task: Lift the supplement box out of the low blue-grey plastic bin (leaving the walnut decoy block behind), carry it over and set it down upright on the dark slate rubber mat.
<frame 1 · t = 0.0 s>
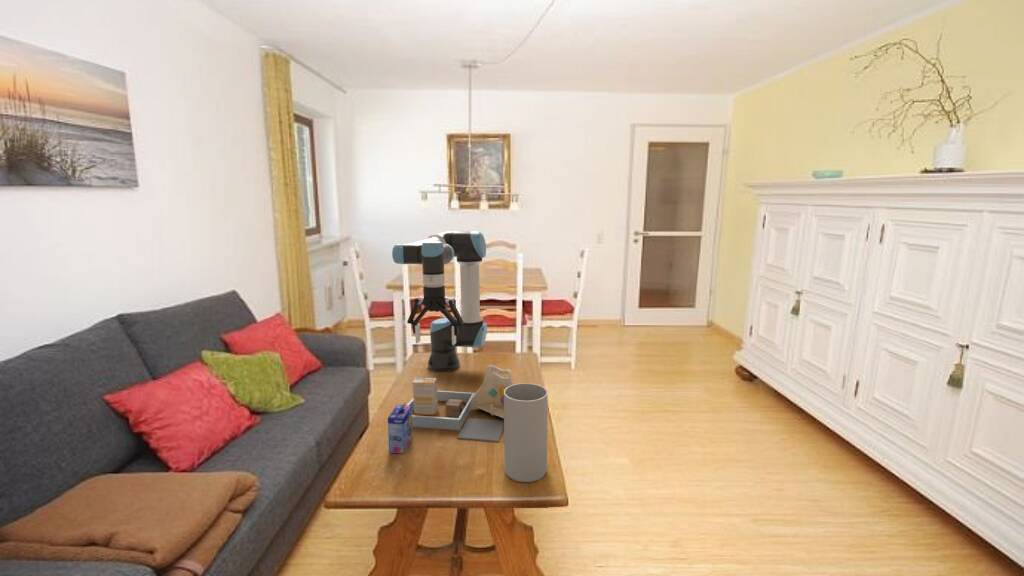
hand: (436, 343, 167), 28 cm above the table, fingers open, 13 cm apart
shape sorter: (500, 414, 173), on the table, touching mat
bin: (438, 413, 174), on the table
ink cartridge box: (401, 446, 152), on the table
supplement box: (426, 413, 175), resting in bin
decoy block: (454, 414, 173), resting in bin
mat: (482, 430, 161), on the table
cylinder vase: (525, 471, 137), on the table
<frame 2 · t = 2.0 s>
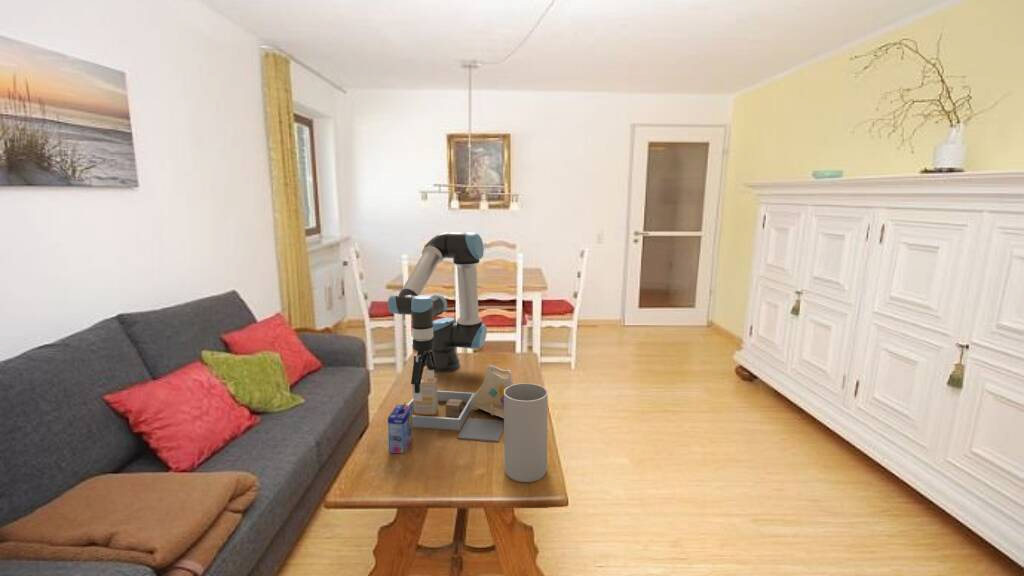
hand: (424, 393, 173), 8 cm above the table, fingers open, 13 cm apart
nothing on the table moved.
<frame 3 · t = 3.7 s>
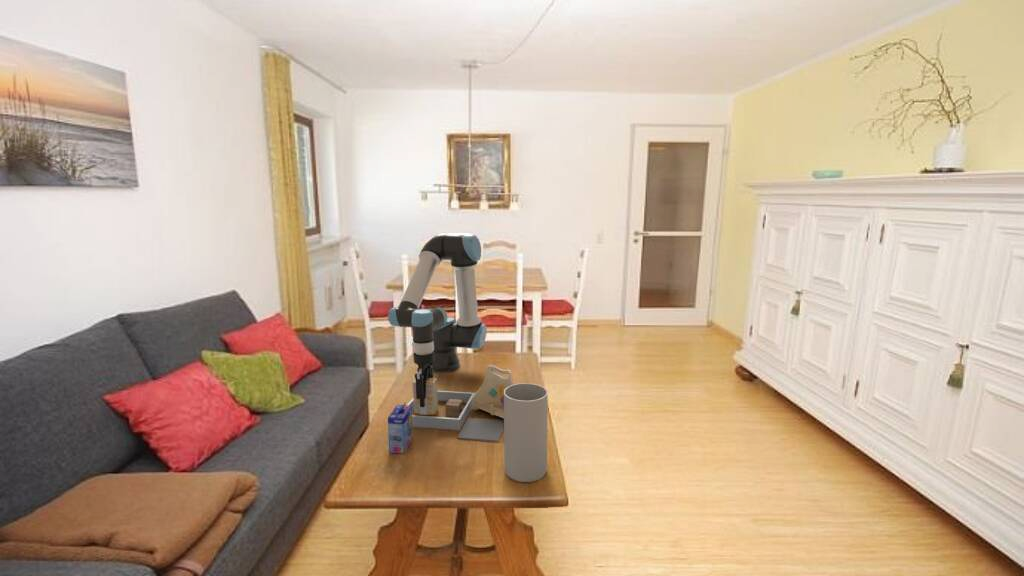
hand: (426, 410, 175), 1 cm above the table, fingers closed on supplement box, 5 cm apart
supplement box: (426, 413, 175), resting in bin, touching gripper
everything else where it was.
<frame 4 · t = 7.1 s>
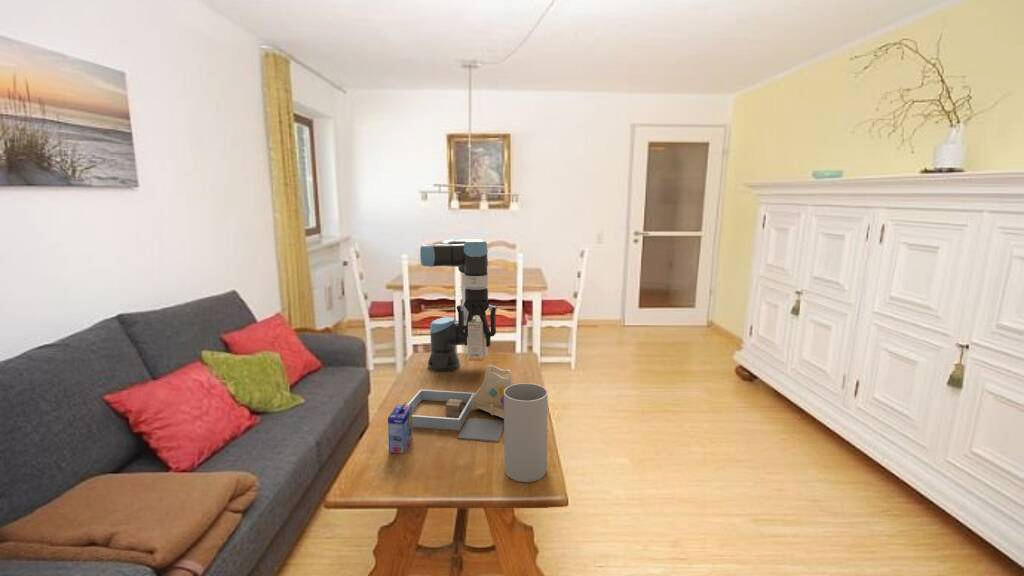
hand: (477, 354, 157), 27 cm above the table, fingers closed on supplement box, 5 cm apart
supplement box: (477, 357, 157), point 26 cm above the table, touching gripper
everything else where it was.
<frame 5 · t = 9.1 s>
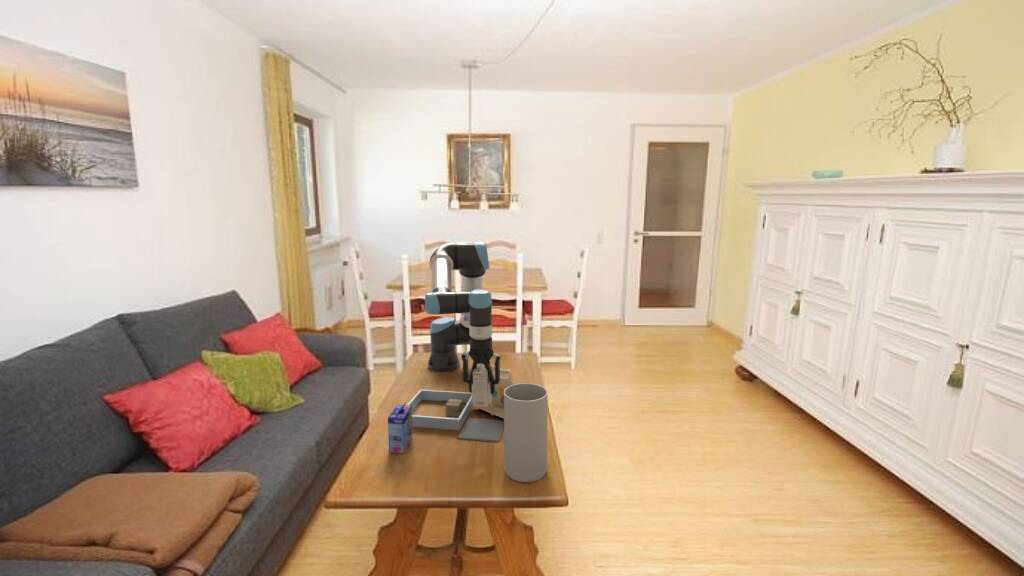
hand: (482, 401, 159), 11 cm above the table, fingers closed on supplement box, 5 cm apart
supplement box: (482, 404, 159), point 10 cm above the table, touching gripper
everything else where it was.
when the fingers open (3 cm above the table, at t = 10.8 s): supplement box drops 1 cm, resting on mat.
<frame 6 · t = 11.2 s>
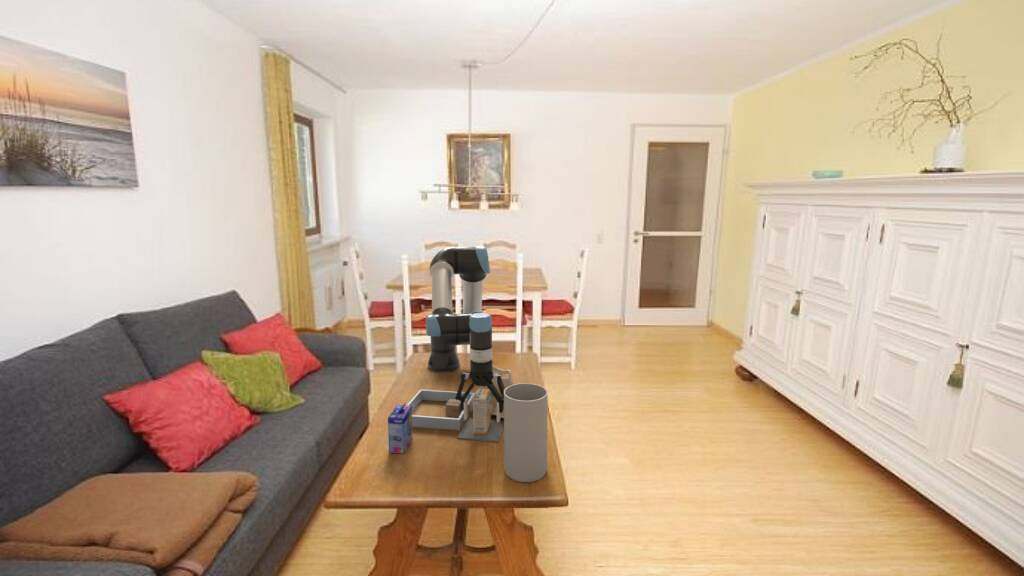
hand: (482, 419, 161), 4 cm above the table, fingers open, 11 cm apart
supplement box: (482, 429, 161), resting on mat
everything else where it was.
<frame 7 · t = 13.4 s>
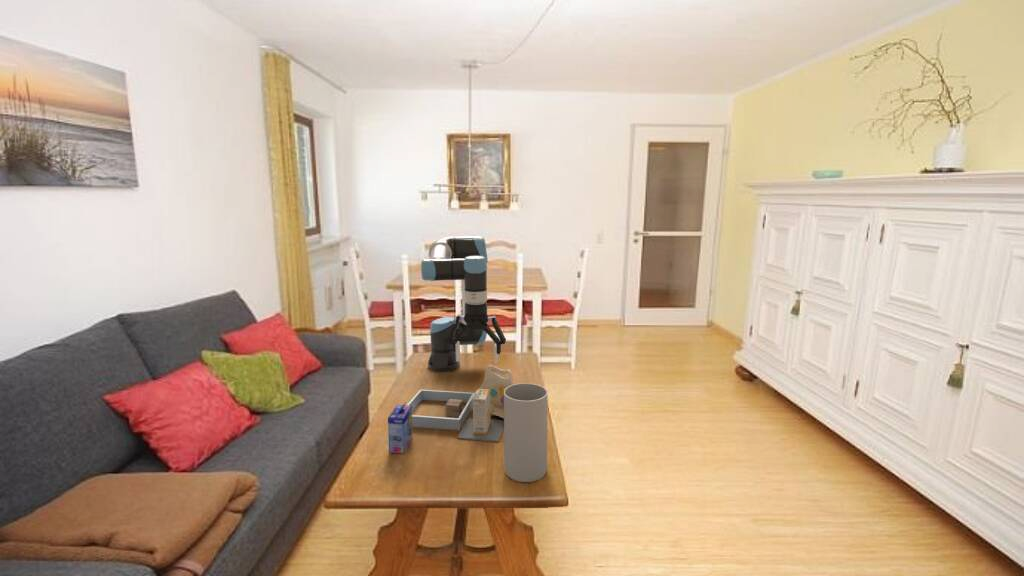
hand: (477, 361, 161), 24 cm above the table, fingers open, 13 cm apart
nothing on the table moved.
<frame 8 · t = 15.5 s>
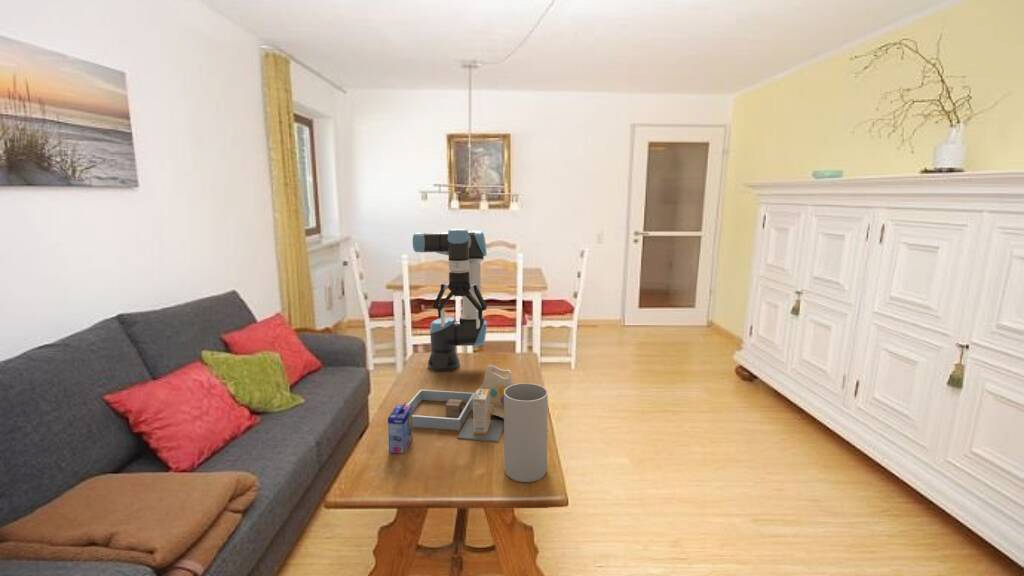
hand: (460, 327, 175), 32 cm above the table, fingers open, 13 cm apart
nothing on the table moved.
at the end: supplement box inside the target area on the mat (0.2 cm from its centre), point 0.3 cm above the mat's base; supplement box tilted 0°; the gripper is holding nothing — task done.
